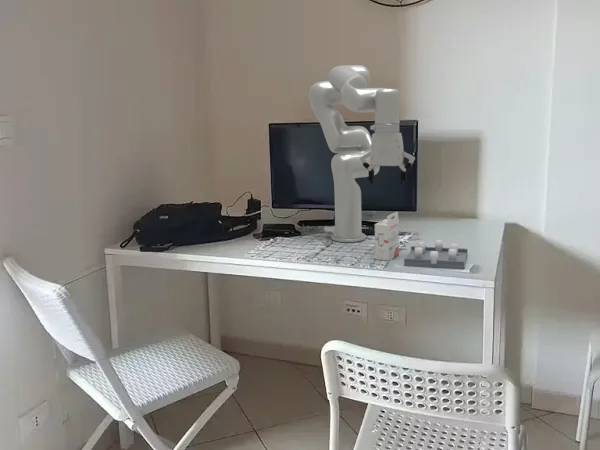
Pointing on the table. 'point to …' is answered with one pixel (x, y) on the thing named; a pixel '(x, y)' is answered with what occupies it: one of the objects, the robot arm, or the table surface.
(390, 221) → the ink cartridge box
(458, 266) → the tray
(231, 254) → the table surface
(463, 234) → the table surface
